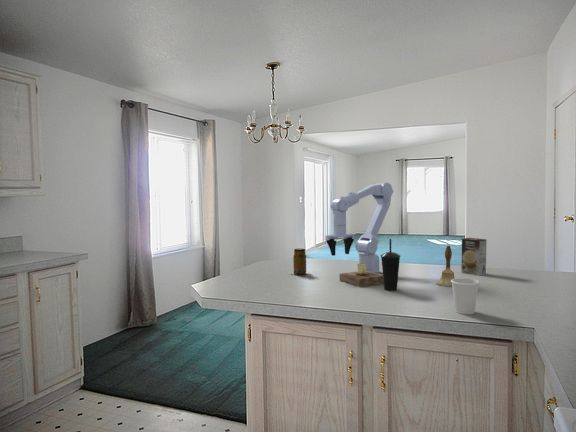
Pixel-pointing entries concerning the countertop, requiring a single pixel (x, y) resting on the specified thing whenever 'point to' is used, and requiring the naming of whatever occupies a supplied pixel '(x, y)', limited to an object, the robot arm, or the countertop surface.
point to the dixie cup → (465, 295)
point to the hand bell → (447, 270)
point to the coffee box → (474, 256)
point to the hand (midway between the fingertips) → (340, 254)
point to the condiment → (299, 262)
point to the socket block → (361, 278)
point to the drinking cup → (390, 269)
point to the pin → (362, 269)
